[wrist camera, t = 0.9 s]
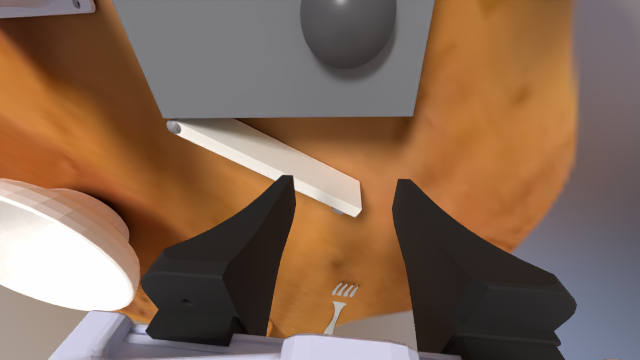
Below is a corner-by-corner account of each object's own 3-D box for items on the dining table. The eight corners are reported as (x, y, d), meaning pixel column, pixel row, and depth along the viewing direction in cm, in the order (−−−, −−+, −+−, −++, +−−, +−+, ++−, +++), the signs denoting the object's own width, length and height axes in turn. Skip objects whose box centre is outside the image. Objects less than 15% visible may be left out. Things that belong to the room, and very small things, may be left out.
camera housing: (198, 99, 19) (155, 123, 15) (139, -78, 13) (41, -123, 9) (398, 96, 18) (415, 122, 13) (428, -107, 12) (475, -179, 7)
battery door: (194, 121, 20) (164, 141, 17) (198, 100, 19) (167, 117, 16) (348, 195, 23) (348, 224, 20) (359, 181, 22) (361, 209, 19)
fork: (314, 343, 45) (313, 353, 44) (337, 271, 31) (337, 283, 30) (331, 345, 45) (330, 356, 44) (361, 275, 31) (362, 287, 30)
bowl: (136, 153, 23) (68, 197, 17) (190, 270, 34) (159, 320, 29) (-46, 136, 24) (-166, 173, 18) (65, 256, 35) (11, 301, 29)
